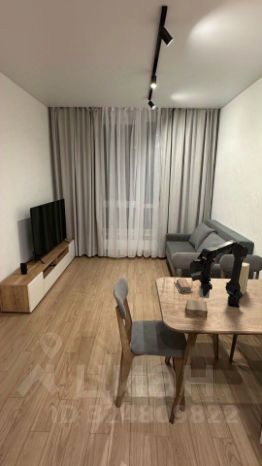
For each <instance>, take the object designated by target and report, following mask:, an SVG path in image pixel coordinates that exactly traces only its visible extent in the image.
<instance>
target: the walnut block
mask: <svg viewBox="0 0 262 466" xmlns="http://www.w3.org/2000/svg"><path fill="white" fill-rule="evenodd" d="M185 305H186V310H185V311H186V315H189V316H196V317H204V318H208V314H209V312H208V305H207V301H203V300H201V301H200V300H194V299H193V300H192V299H186V304H185Z"/></svg>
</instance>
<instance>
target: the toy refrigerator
mask: <svg viewBox="0 0 262 466" xmlns="http://www.w3.org/2000/svg"><path fill="white" fill-rule="evenodd" d="M249 272H250V263H248V262H243V263H242V268H241V273H240V278H239V284H240V292H241V293H242V294H243V295H244V294H246V292H247V289H248V281H249V274H250V273H249Z"/></svg>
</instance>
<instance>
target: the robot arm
mask: <svg viewBox="0 0 262 466" xmlns="http://www.w3.org/2000/svg"><path fill="white" fill-rule="evenodd" d="M230 250H232V255H233V258H234V261H233V263H232V264H233V266H232V271H231V276H230V280H229V281H226V282H225V287H224V288H225V291H226V294H227V301H226V303H227V304H228V306H229V307H234V308H240V307H241V306H240V302H241V301H240V300H241V299H243V296H244V294H242V293H241V292H240V284H239V278H240V273H241V268H242V263H244V262H243V261H244V260H245V259H246V258H247V256H248V253H249V248H248V247H247V246H244V245H242V244H240V243H238V242H237V241H234V240H232V239H229V240H228V241H226V242H224V243H221V244H218V245H217V246H212V247H211V246H209V247H204V248H203V249H202V251H200V253H199V254H198V256H197V258H196V259H192V261H191V262H190V263H189V269H190V271H191V272H193V273H190V277H191V281H192V282H195V281H199V282H200V284H199V286H200V287H201V289H203V296H204V297H205V296H206V295H207V293H208V292H209V290H210V291H211V290H213V283H211V282H212V278H211V277H212V275H213V273H212V270H213V269H212V268H213V263H216V260H215V259H216V258H217V257H218V256H219V255H220V254H223V253H224V252H227V251H230Z"/></svg>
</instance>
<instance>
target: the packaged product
mask: <svg viewBox="0 0 262 466" xmlns="http://www.w3.org/2000/svg"><path fill="white" fill-rule="evenodd" d="M174 285H175V286H176V288H178V289H177V290H178V292H179V293H181V294H182V293H184V294H185V293H189V294H190V293H193V292H194V290H193V289H192V287H191V285H190V284H189V282H188V281H187V279H186V278H184V277H183V278H182V277H181V278H178V279H176V281H174Z"/></svg>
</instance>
